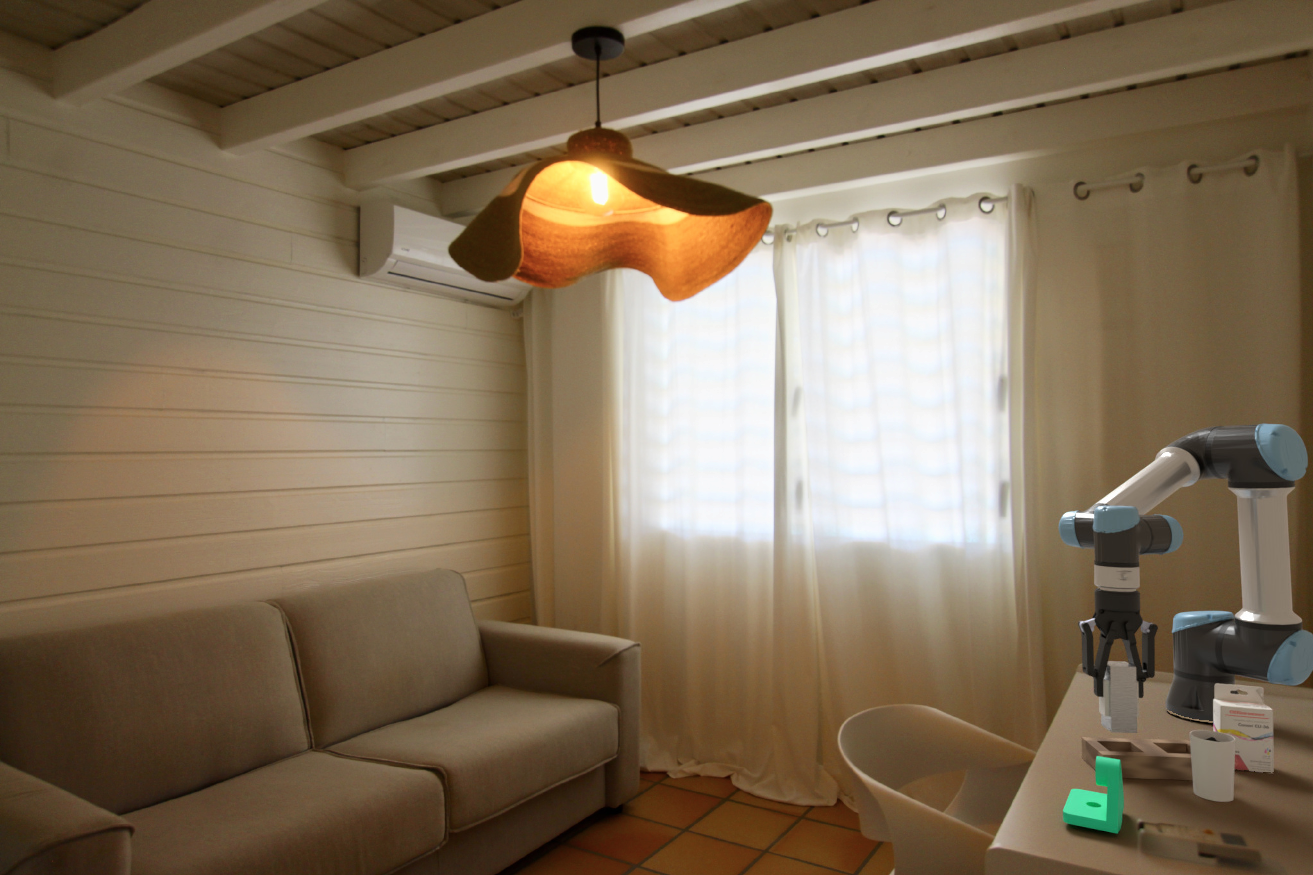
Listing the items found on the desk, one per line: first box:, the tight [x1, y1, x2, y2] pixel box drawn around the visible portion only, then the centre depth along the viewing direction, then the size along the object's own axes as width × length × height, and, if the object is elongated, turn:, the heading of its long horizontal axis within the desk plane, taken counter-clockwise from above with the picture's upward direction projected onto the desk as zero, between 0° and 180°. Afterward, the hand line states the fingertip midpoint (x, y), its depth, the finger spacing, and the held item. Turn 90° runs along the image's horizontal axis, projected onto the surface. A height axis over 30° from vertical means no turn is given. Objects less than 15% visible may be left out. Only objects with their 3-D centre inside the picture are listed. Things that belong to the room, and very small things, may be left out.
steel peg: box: [1100, 660, 1138, 734], centre depth 160 cm, size 4×4×12 cm
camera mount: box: [1062, 756, 1125, 834], centre depth 136 cm, size 12×8×10 cm, turn 148°
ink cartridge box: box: [1212, 683, 1275, 774], centre depth 160 cm, size 9×5×15 cm, turn 71°
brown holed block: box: [1081, 736, 1193, 781], centre depth 159 cm, size 20×10×4 cm, turn 84°
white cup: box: [1189, 729, 1235, 803], centre depth 146 cm, size 7×7×10 cm
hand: (1118, 714), depth 159 cm, fingers closed on steel peg, 4 cm apart
